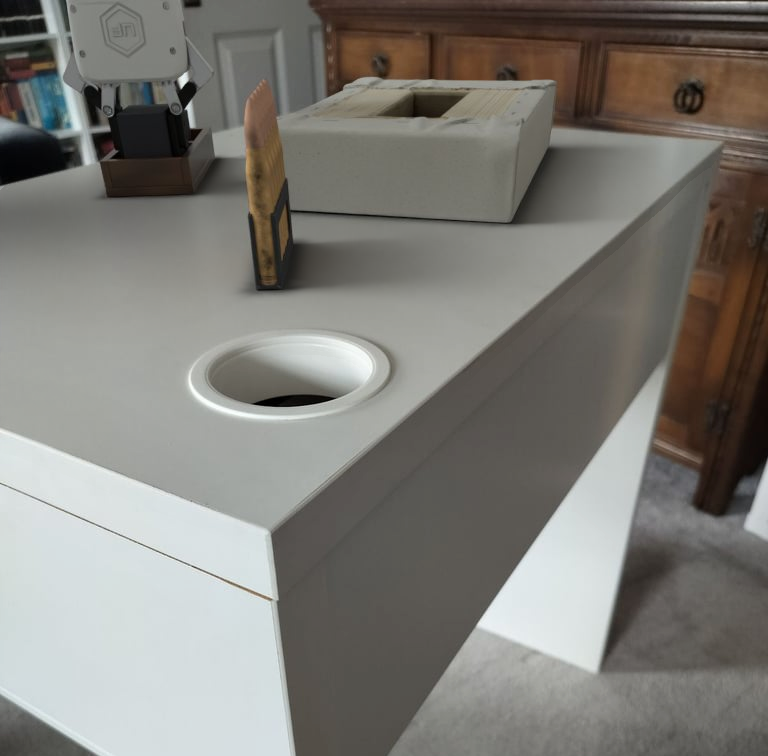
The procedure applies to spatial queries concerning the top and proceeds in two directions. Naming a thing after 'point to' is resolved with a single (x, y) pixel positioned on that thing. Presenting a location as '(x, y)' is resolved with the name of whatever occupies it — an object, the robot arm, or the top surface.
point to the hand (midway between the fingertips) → (153, 155)
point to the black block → (145, 131)
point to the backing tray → (160, 170)
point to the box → (419, 148)
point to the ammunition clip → (267, 191)
